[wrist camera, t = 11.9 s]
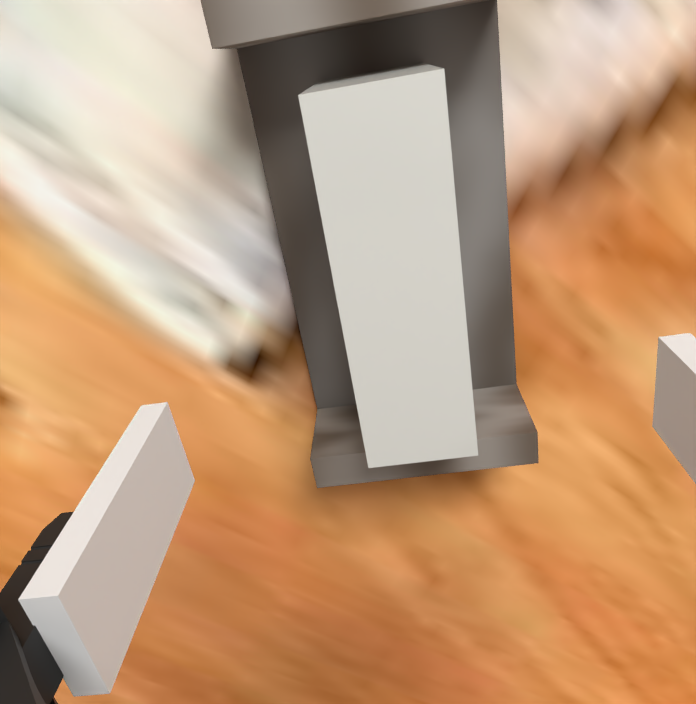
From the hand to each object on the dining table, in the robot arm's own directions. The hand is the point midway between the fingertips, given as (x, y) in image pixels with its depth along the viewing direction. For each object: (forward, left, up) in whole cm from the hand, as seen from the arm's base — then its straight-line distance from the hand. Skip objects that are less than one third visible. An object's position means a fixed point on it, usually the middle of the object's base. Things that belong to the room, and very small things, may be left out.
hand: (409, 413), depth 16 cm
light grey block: (0, 0, -18) cm, 18 cm away
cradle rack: (0, 0, -19) cm, 19 cm away
